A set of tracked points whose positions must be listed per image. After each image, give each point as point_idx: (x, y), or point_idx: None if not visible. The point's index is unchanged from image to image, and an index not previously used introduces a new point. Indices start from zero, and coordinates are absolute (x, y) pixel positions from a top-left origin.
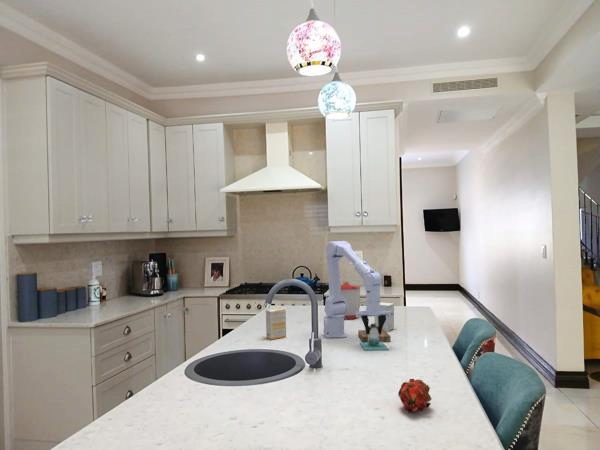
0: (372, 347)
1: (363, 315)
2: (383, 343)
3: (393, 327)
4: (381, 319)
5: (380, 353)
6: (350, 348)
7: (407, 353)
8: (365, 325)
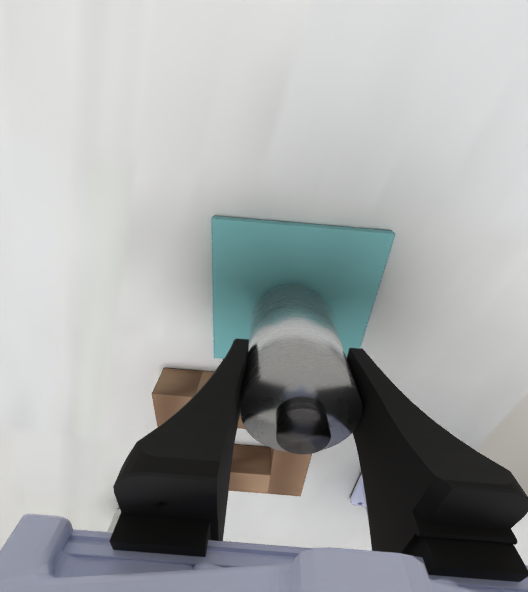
0: (316, 266)
1: (494, 586)
2: (215, 333)
3: (116, 514)
4: (210, 453)
5: (299, 139)
6: (451, 297)
7: (78, 97)
8: (421, 411)
